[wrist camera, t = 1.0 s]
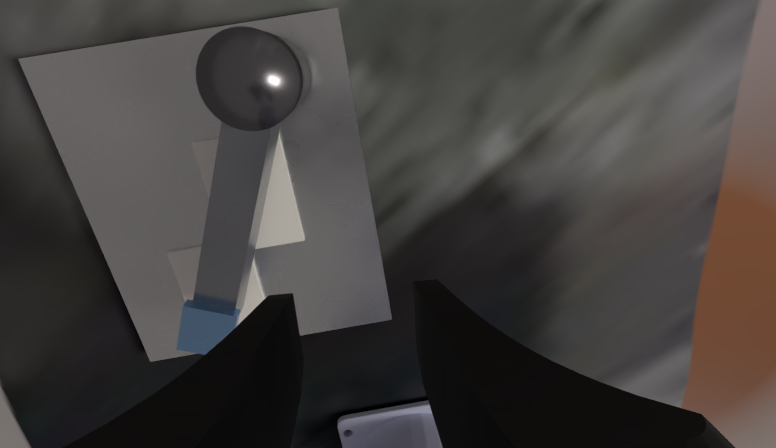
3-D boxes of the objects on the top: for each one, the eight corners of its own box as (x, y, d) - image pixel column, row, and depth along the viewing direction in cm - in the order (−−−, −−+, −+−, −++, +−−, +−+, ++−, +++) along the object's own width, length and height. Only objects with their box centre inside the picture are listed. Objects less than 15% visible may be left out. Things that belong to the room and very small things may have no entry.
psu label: (304, 238, 19) (304, 240, 19) (227, 252, 19) (226, 253, 19) (277, 128, 18) (276, 129, 17) (192, 141, 18) (190, 143, 17)
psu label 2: (274, 331, 21) (273, 333, 21) (203, 343, 21) (201, 346, 21) (246, 238, 19) (245, 239, 19) (168, 251, 19) (166, 253, 19)
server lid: (390, 310, 22) (392, 319, 21) (157, 351, 22) (150, 361, 21) (338, 9, 17) (337, 7, 16) (33, 58, 17) (17, 58, 16)
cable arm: (237, 23, 16) (203, 12, 12) (317, 47, 16) (307, 44, 13) (193, 300, 20) (157, 355, 16) (259, 314, 20) (238, 369, 17)
